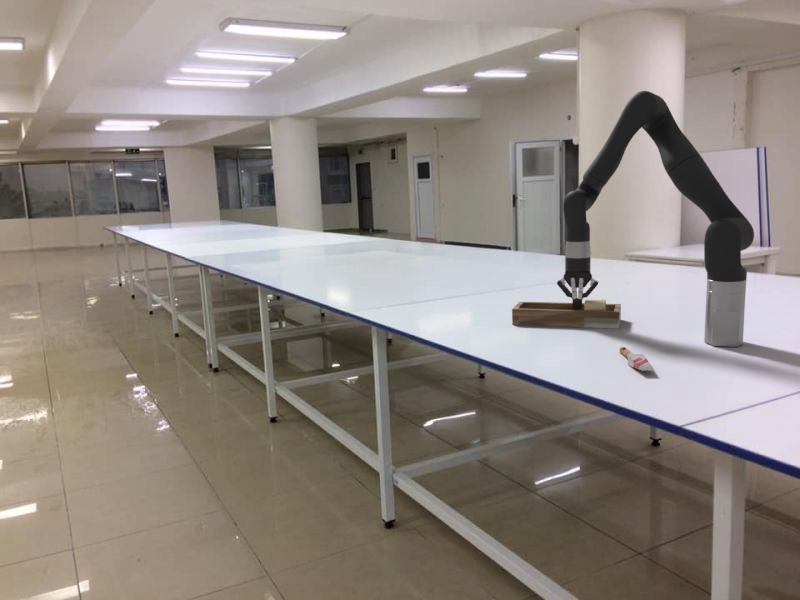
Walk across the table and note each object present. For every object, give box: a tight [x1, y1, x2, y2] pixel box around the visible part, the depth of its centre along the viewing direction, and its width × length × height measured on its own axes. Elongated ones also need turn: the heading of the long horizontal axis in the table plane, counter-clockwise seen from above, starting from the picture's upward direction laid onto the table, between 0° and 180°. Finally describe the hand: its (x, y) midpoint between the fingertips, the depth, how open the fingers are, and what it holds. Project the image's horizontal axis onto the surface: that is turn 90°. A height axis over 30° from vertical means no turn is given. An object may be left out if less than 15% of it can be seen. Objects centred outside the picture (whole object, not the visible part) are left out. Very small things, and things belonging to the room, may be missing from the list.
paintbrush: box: [619, 346, 655, 371], centre depth 155 cm, size 4×3×20 cm
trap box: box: [511, 301, 622, 330], centre depth 200 cm, size 12×32×5 cm, turn 69°
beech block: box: [583, 298, 607, 311], centre depth 196 cm, size 5×6×4 cm
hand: (577, 310), depth 198 cm, fingers closed
